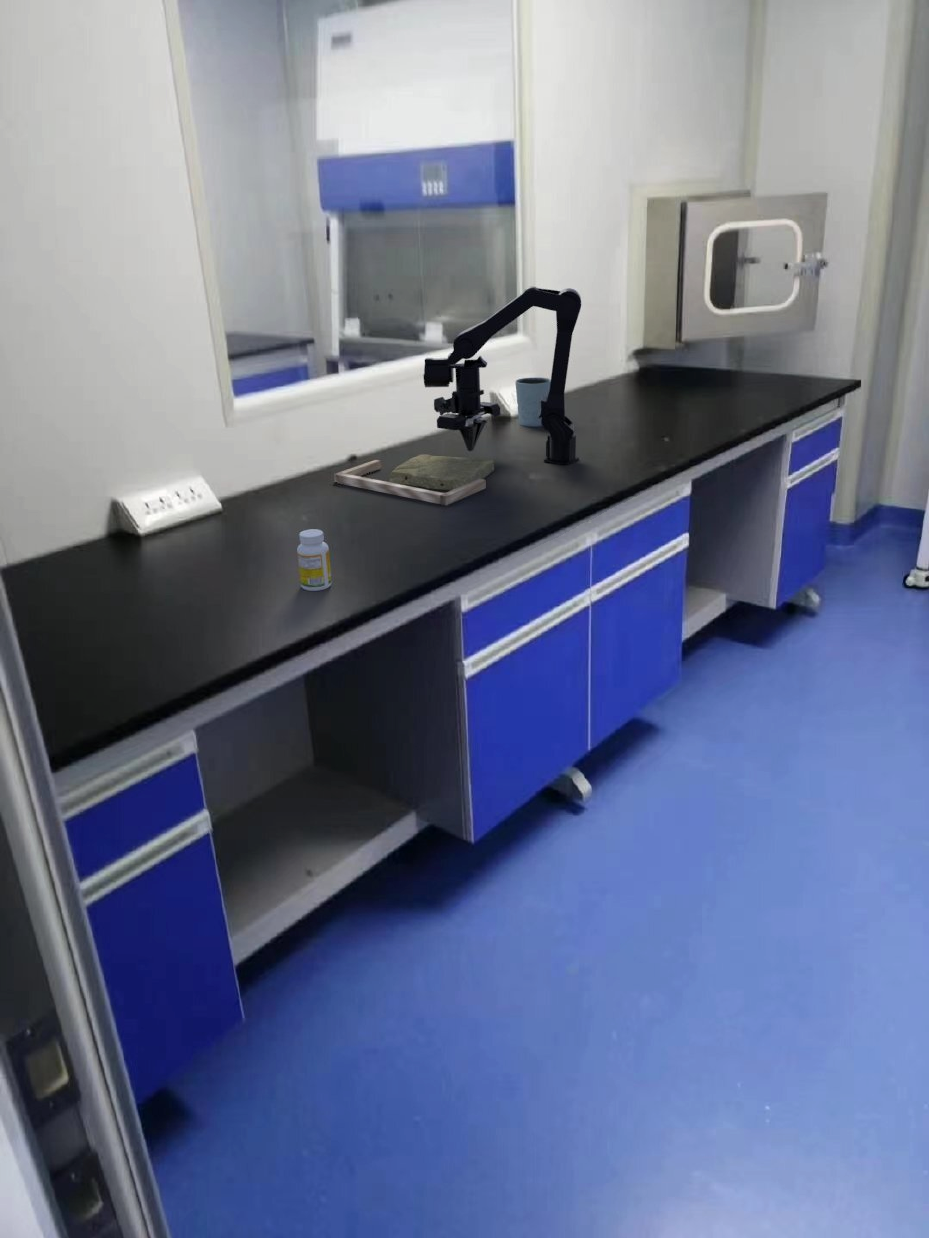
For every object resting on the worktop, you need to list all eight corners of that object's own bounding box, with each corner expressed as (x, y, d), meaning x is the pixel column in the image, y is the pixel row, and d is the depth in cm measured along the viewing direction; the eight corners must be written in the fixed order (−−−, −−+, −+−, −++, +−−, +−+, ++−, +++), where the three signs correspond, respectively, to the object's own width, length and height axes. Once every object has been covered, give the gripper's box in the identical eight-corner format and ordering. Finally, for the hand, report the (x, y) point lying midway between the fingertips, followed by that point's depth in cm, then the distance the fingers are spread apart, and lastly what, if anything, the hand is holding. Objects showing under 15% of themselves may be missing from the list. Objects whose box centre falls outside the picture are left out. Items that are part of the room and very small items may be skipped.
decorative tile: (418, 465, 231) (417, 451, 229) (495, 471, 224) (494, 457, 222) (385, 487, 215) (384, 472, 214) (465, 494, 208) (465, 478, 207)
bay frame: (485, 488, 210) (485, 479, 209) (446, 505, 200) (445, 496, 199) (376, 467, 228) (375, 459, 228) (334, 482, 218) (333, 474, 217)
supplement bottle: (315, 594, 158) (309, 540, 154) (294, 587, 161) (288, 534, 157) (338, 584, 162) (333, 531, 158) (317, 577, 165) (312, 525, 161)
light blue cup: (533, 429, 259) (533, 385, 254) (508, 423, 266) (507, 380, 261) (558, 422, 265) (559, 379, 260) (533, 417, 272) (533, 375, 267)
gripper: (464, 377, 234) (466, 438, 241) (417, 390, 221) (421, 455, 227) (500, 380, 228) (502, 443, 234) (454, 395, 215) (457, 461, 221)
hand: (470, 450), depth 229 cm, fingers closed
